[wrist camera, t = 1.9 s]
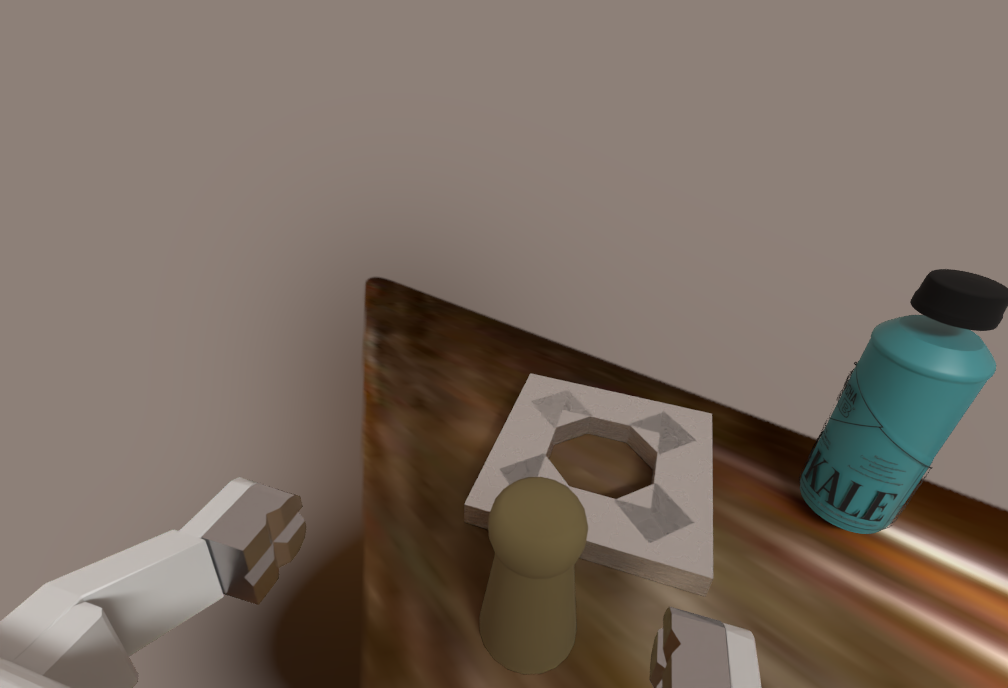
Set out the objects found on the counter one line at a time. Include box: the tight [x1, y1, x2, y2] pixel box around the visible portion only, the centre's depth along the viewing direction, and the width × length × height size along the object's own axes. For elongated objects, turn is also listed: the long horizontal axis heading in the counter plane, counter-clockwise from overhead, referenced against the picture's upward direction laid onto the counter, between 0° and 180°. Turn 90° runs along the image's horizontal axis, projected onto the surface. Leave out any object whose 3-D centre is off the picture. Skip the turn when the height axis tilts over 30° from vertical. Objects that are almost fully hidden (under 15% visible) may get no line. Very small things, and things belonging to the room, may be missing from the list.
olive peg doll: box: [480, 477, 588, 674], centre depth 29 cm, size 6×6×11 cm
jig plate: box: [464, 373, 713, 597], centre depth 42 cm, size 17×17×2 cm
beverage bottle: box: [799, 269, 1008, 534], centre depth 34 cm, size 6×7×20 cm
